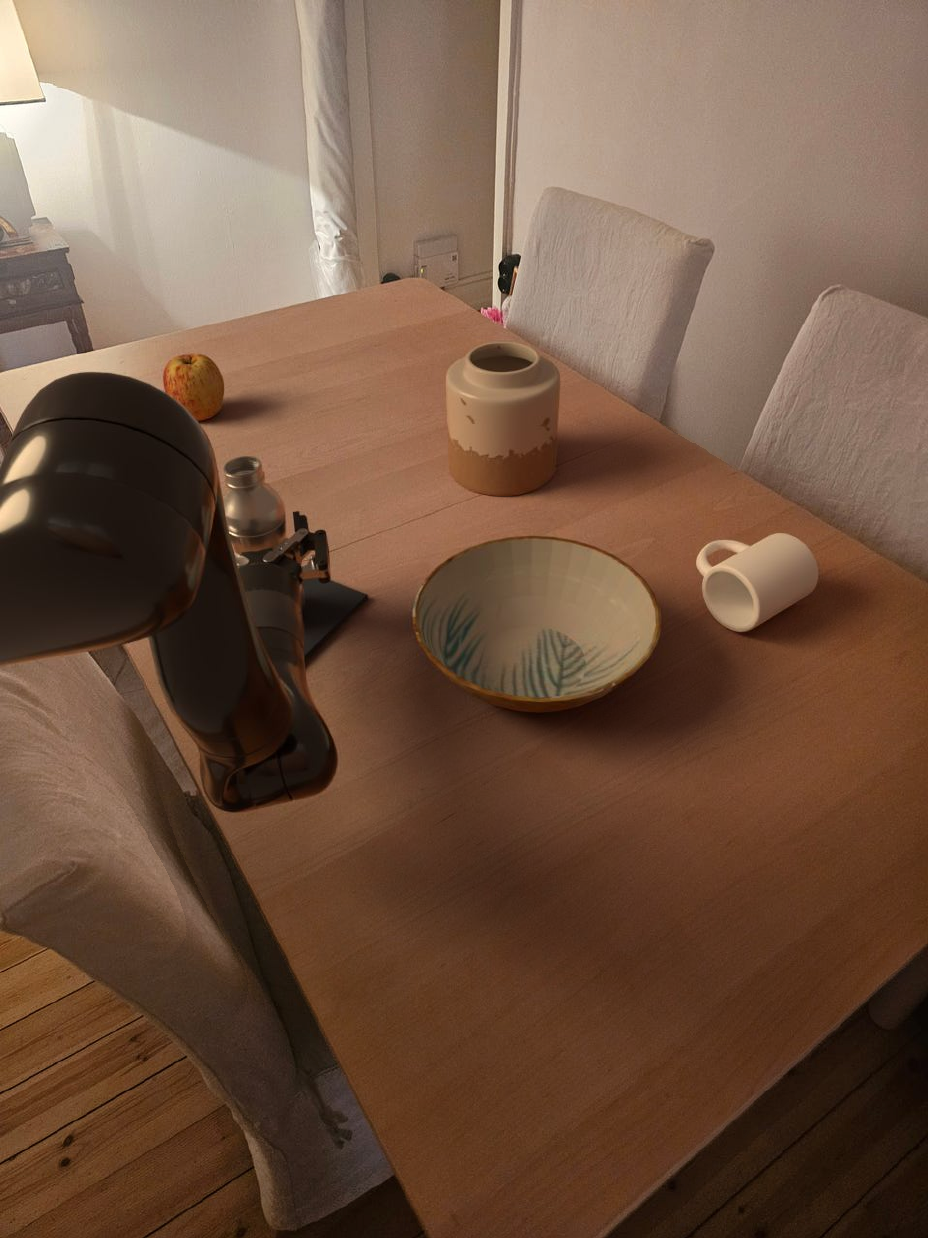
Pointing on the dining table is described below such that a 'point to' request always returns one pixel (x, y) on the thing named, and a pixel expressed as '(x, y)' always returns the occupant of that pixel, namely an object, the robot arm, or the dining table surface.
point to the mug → (756, 579)
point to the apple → (195, 384)
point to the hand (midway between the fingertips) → (257, 523)
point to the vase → (502, 419)
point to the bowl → (536, 622)
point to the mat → (326, 610)
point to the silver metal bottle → (253, 508)
